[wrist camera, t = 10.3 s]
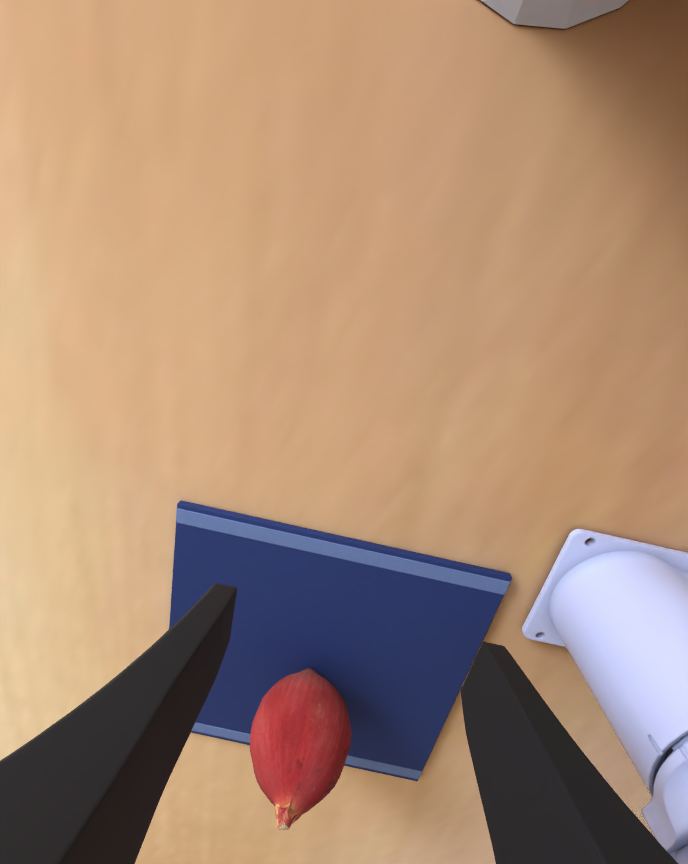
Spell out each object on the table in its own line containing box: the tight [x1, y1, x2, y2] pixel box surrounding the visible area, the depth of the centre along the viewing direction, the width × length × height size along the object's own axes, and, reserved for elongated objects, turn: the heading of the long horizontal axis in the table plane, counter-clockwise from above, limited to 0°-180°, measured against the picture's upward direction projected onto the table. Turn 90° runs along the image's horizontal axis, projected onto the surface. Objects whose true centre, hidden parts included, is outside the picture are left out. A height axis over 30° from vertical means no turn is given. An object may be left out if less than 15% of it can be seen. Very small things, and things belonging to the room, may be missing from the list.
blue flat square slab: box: [169, 501, 512, 781], centre depth 25 cm, size 20×20×1 cm
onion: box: [250, 668, 351, 830], centre depth 21 cm, size 6×6×8 cm
